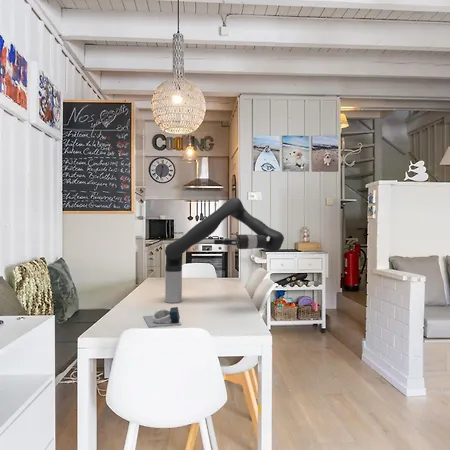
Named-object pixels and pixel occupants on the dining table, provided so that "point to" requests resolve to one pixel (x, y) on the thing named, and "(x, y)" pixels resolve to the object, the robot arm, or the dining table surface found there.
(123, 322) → the dining table surface
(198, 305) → the dining table surface
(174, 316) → the watch
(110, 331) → the dining table surface
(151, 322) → the mat
